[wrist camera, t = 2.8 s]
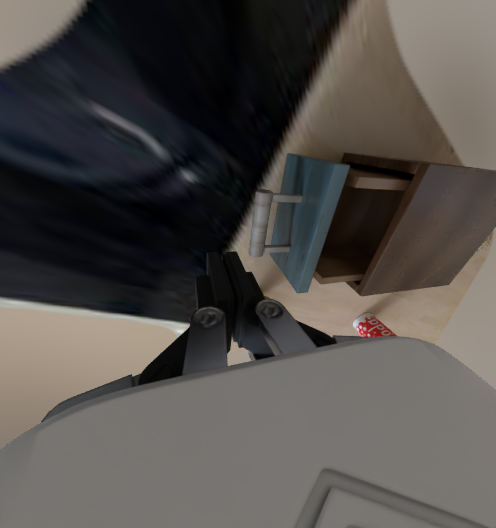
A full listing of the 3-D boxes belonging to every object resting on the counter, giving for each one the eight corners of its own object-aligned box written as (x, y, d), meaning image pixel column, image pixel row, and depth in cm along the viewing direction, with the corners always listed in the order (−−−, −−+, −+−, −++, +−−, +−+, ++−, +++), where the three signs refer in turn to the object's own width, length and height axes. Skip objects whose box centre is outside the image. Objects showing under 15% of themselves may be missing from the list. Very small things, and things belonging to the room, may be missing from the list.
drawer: (237, 255, 24) (256, 298, 18) (246, 148, 18) (278, 158, 12) (348, 250, 29) (394, 282, 23) (385, 163, 23) (460, 175, 17)
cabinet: (312, 252, 29) (360, 296, 21) (343, 152, 22) (430, 164, 14) (385, 248, 32) (448, 285, 25) (431, 162, 26) (537, 175, 18)
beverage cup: (379, 308, 42) (451, 372, 31) (367, 327, 45) (428, 392, 34) (356, 311, 40) (423, 381, 29) (345, 331, 44) (402, 401, 32)
